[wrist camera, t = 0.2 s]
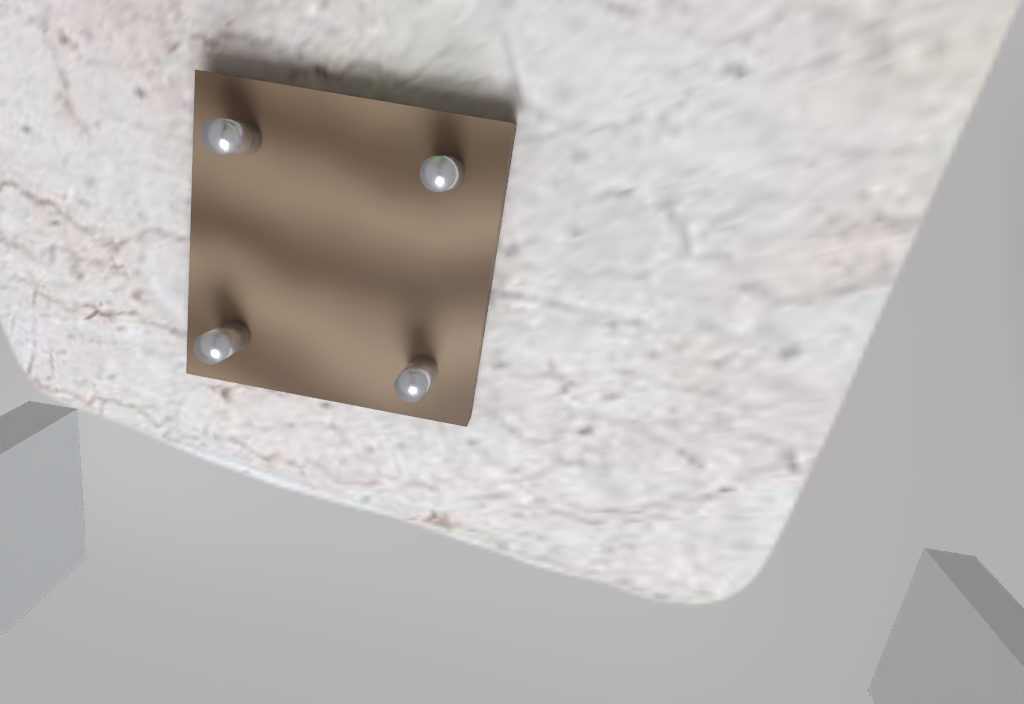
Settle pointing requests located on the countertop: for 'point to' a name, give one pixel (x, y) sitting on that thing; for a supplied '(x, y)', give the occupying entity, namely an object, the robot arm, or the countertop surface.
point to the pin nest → (342, 245)
